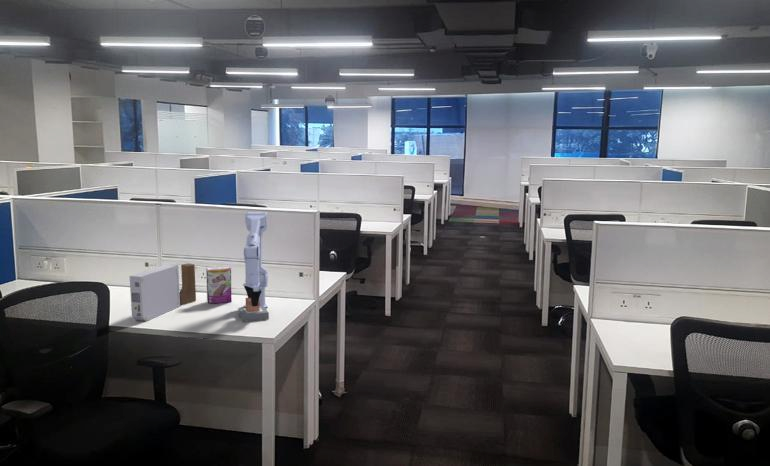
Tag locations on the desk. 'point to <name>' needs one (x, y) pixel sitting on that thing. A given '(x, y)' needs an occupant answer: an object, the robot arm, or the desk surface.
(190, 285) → the wooden block
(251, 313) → the grey square frame
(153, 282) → the game console
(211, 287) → the candy bar box
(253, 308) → the salmon brown cube
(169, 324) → the desk surface
